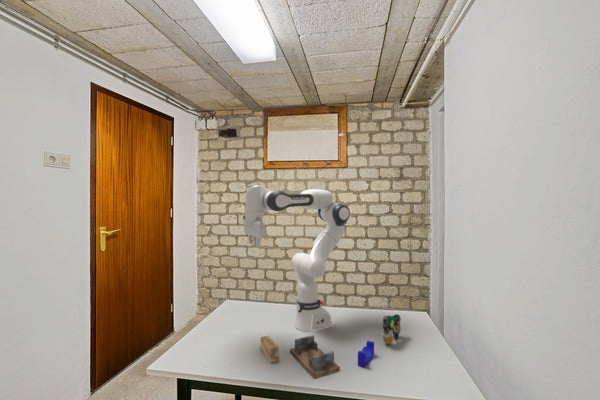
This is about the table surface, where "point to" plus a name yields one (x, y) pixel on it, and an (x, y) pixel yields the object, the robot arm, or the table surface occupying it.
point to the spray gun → (391, 328)
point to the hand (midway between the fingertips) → (254, 244)
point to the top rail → (269, 349)
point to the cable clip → (366, 354)
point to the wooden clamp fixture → (313, 357)
